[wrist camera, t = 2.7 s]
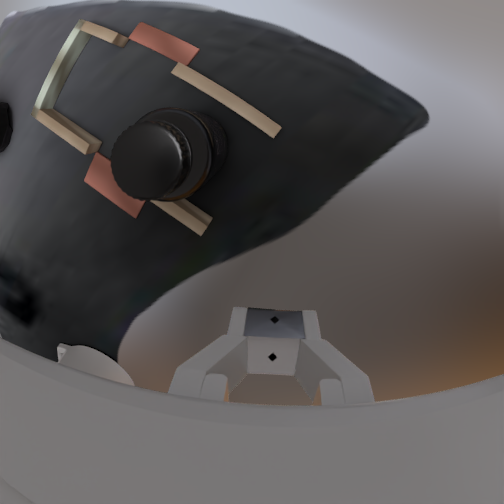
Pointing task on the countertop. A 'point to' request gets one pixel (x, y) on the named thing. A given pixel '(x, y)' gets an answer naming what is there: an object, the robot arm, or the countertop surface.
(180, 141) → the supplement bottle
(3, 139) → the portable speaker
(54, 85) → the channel
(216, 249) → the countertop surface
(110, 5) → the countertop surface
